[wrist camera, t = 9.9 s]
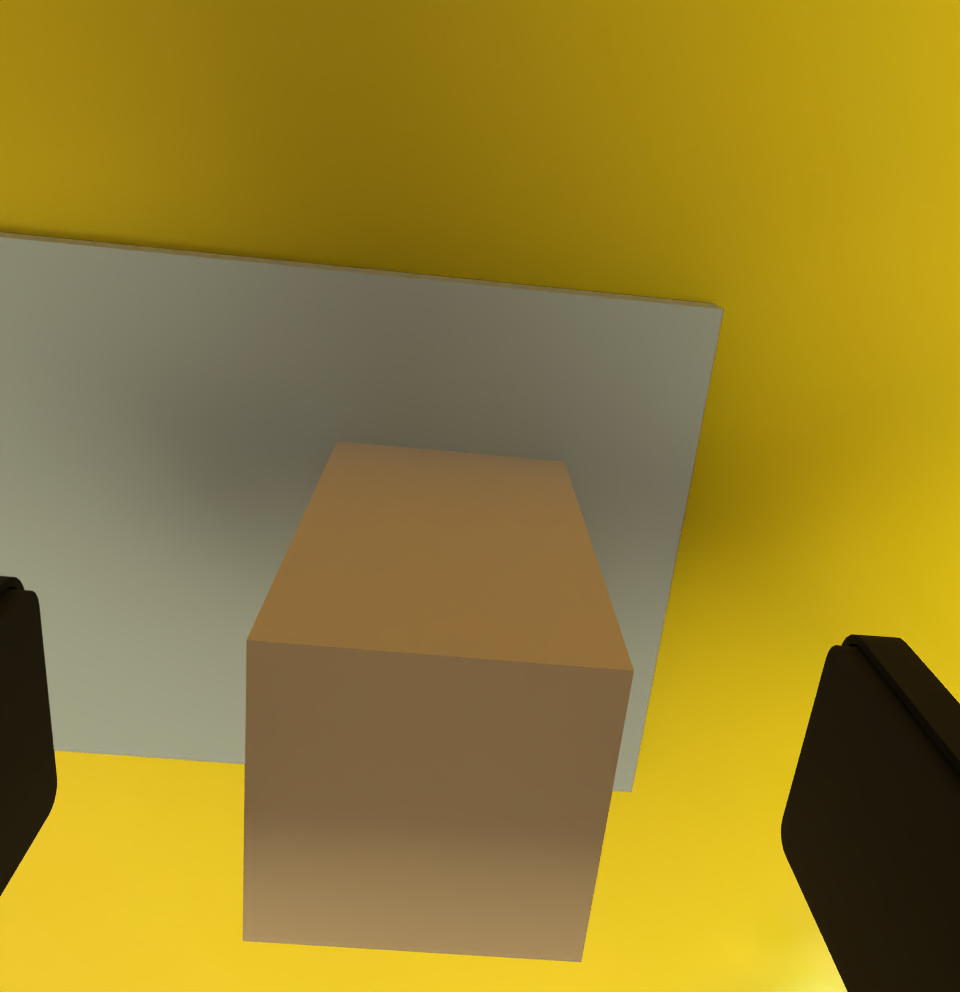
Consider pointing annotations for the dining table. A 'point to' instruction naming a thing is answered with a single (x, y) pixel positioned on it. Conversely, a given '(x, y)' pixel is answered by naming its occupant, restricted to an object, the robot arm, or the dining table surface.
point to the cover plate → (243, 444)
